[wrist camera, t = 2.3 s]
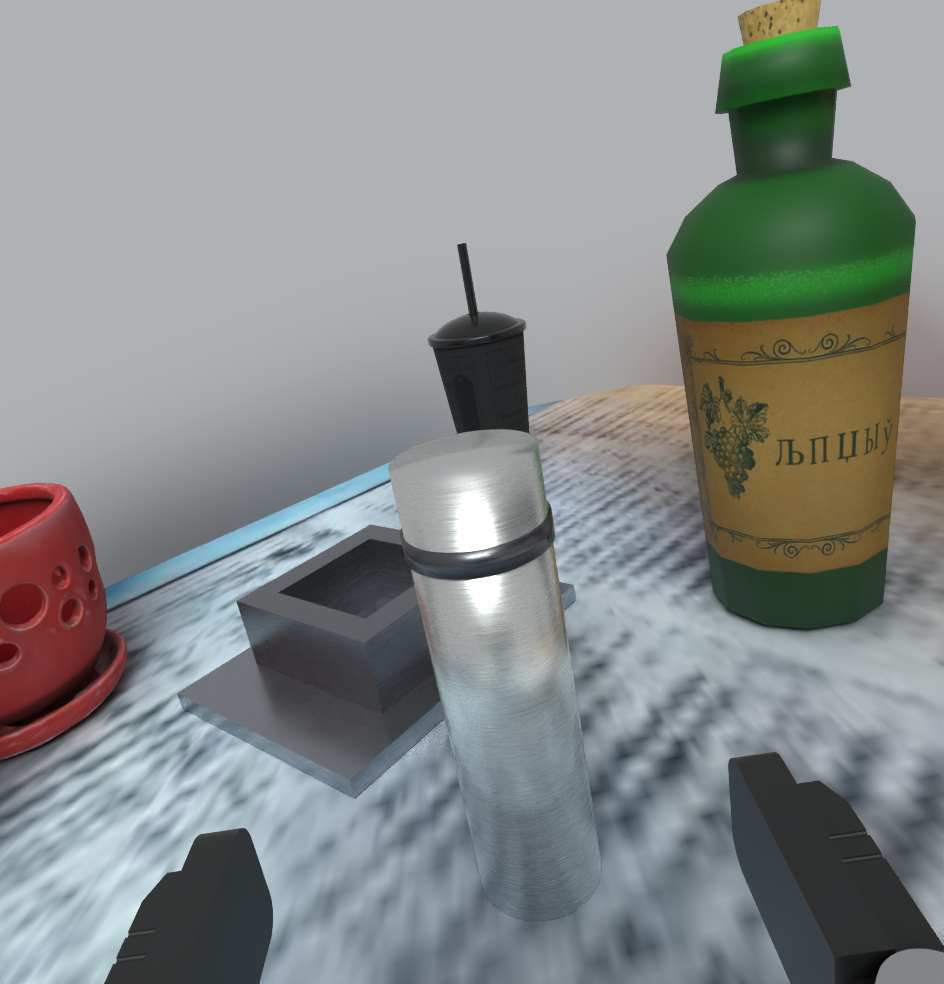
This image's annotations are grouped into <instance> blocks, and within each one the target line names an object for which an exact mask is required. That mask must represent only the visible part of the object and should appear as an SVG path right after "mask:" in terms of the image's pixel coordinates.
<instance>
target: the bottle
mask: <svg viewBox="0 0 944 984" xmlns="http://www.w3.org/2000/svg"><path fill="white" fill-rule="evenodd" d="M820 4H821V0H780V1H776V2H773V3H769V4H766V5H762V6H759V7H757V8H754V9H751V10H748V11H746V12H744V13H742V14H741V15H739V16H738V20H739V25H740V30H741V35H742V40H743V45H744V46H741V47H738V48H735V49H732V50H730V51H729V52H727V53H725V54H723V56H722V64H721V72H720V80H719V88H718V96H717V103H716V111H715V114H724V113H729V121H730V127H731V134H732V142H733V150H734V157H735V163H736V171H737V175H736V176H734V177H733V178H731V179H729V180H727V181H725V182H723V183H721V184H720V185H718V186H717V187H716V188H715V189H714V190H713V191H712V192H711V193H709V194H708V195H707V196H706V197H705V198H704V199H703V200H702V201H701V202H700V203H699V204H698V205H697V206H696V207H695V208H694V209H693V210H692V211H691V212H690V213H689V214H688V215H687V216H686V217H685V219H684V221H683V223H682V225H681V227H680V229H679V231H678V233H677V235H676V237H675V239H674V241H673V243H672V245H671V247H670V249H669V251H668V253H667V263H668V270H669V276H670V284H671V291H672V298H673V306H674V313H675V320H676V327H677V334H678V341H679V349H680V356H681V363H682V370H683V377H684V384H685V392H686V399H687V406H688V413H689V420H690V427H691V435H692V442H693V449H694V456H695V463H696V470H697V477H698V485H699V492H700V499H701V506H702V513H703V520H704V528H705V535H706V542H707V549H708V556H709V563H710V571H711V578H712V585H713V591H714V592H715V593H716V595H717V596H718V597H719V599H720V600H721V601H722V603H723V604H724V605H725V607H726V608H727V609H728V610H729V611H732V612H734V613H737V614H739V615H742V616H744V617H746V618H749V619H751V620H754V621H756V622H759V623H761V624H763V625H771V626H782V627H792V628H803V629H814V628H820V627H826V626H831V625H837V624H842V623H848V622H853V621H857V620H859V619H860V618H862V617H863V616H865V615H866V614H867V613H869V612H870V611H872V610H873V609H875V608H876V607H878V606H879V605H881V604H882V603H883V596H884V584H885V573H886V561H887V550H888V538H889V526H890V515H891V503H892V492H893V480H894V468H895V457H896V445H897V434H898V422H899V411H900V399H901V387H902V375H903V364H904V352H905V341H906V329H907V318H908V306H909V294H910V283H911V272H912V259H913V248H914V237H915V225H916V221H915V215H914V214H913V213H912V211H911V210H910V208H909V207H908V206H907V204H906V203H905V201H904V200H903V199H902V197H901V196H900V195H899V193H898V192H897V190H896V189H895V187H894V186H893V185H892V183H891V182H890V181H888V180H886V179H884V178H882V177H880V176H879V175H877V174H875V173H873V172H871V171H869V170H868V169H866V168H864V167H862V166H860V165H858V164H856V163H855V162H853V161H847V160H841V159H835V158H832V148H833V136H834V122H835V110H836V97H837V90H840V89H844V88H847V87H851V83H850V79H849V74H848V69H847V64H846V59H845V54H844V49H843V44H842V39H841V35H840V30H839V28H838V26H832V27H820V28H817V24H818V18H819V11H820Z"/></svg>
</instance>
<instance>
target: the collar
mask: <svg viewBox="0 0 944 984" xmlns="http://www.w3.org/2000/svg"><path fill="white" fill-rule="evenodd" d="M559 586H560V592H561V599H562V605H563V611H564V610H565V609H566V608H567V607H569V606H570V605H571V604H572V603H573V602H574V601H575V600H576V598H575V591H574V585H571V584H566V583H561V582H559ZM237 604H238V607H239V610H240V613H241V617H242V620H243V623H244V626H245V629H246V632H247V635H248V638H249V642H250V645H251V647H250V648H248V649H247V650H245V651H244V652H242V653H241V654H239V655H237V656H236V657H234V658H233V659H231V660H229V661H228V662H226V663H225V664H223V665H221V666H220V667H218V668H217V669H215V670H214V671H212V672H210V673H209V674H207V675H206V676H204V677H202V678H201V679H199V680H198V681H196V682H194V683H193V684H191V685H190V686H188V687H187V688H185V689H183V690H182V691H180V692H179V693H177V694H178V697H179V700H180V703H181V705H182V708H183V709H184V710H186V711H188V712H190V713H192V714H194V715H196V716H198V717H200V718H202V719H203V720H205V721H207V722H209V723H211V724H213V725H215V726H217V727H219V728H221V729H223V730H225V731H226V732H228V733H230V734H232V735H234V736H236V737H238V738H240V739H242V740H244V741H246V742H248V743H249V744H251V745H253V746H255V747H257V748H259V749H261V750H263V751H265V752H267V753H269V754H270V755H272V756H274V757H276V758H278V759H280V760H282V761H284V762H286V763H288V764H290V765H292V766H293V767H295V768H297V769H299V770H301V771H303V772H305V773H307V774H309V775H311V776H313V777H315V778H316V779H318V780H320V781H322V782H324V783H326V784H328V785H330V786H332V787H334V788H336V789H338V790H339V791H341V792H343V793H345V794H347V795H349V796H351V797H353V798H356V797H357V796H358V795H359V794H360V793H361V792H363V791H364V790H365V789H366V788H367V787H368V786H369V785H370V784H372V783H373V782H374V781H375V780H376V779H377V778H378V777H379V776H380V775H382V774H383V773H384V772H385V771H386V770H387V769H388V768H389V767H390V766H392V765H393V764H394V763H395V762H396V761H397V760H398V759H399V758H400V757H402V756H403V755H404V754H405V753H406V752H407V751H408V750H409V749H410V748H412V747H413V746H414V745H415V744H416V743H417V742H418V741H419V740H420V739H422V738H423V737H424V736H425V735H426V734H427V733H428V732H429V731H431V730H432V729H433V728H434V727H435V726H436V725H437V724H438V723H439V722H441V721H442V720H443V719H444V713H443V709H442V704H441V700H440V695H439V691H438V687H437V682H436V678H435V673H434V669H433V664H432V660H431V656H430V651H429V647H428V642H427V638H426V633H425V629H424V625H423V620H422V616H421V611H420V607H419V602H418V598H417V594H416V589H415V585H414V580H413V576H412V571H411V569H410V568H409V567H408V565H407V563H406V560H405V556H404V551H403V547H402V542H401V538H400V530H397V529H391V528H386V527H380V526H375V525H369V526H367V527H366V528H364V529H362V530H360V531H359V532H357V533H355V534H353V535H352V536H350V537H348V538H346V539H345V540H343V541H341V542H339V543H338V544H336V545H334V546H332V547H331V548H329V549H327V550H325V551H324V552H322V553H320V554H318V555H317V556H315V557H313V558H311V559H310V560H308V561H306V562H304V563H303V564H301V565H299V566H297V567H295V568H294V569H292V570H290V571H288V572H287V573H285V574H283V575H281V576H280V577H278V578H276V579H274V580H273V581H271V582H269V583H267V584H266V585H264V586H262V587H260V588H259V589H257V590H255V591H253V592H252V593H250V594H248V595H246V596H245V597H243V598H241V599H239V600H238V601H237Z"/></svg>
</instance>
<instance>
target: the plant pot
mask: <svg viewBox="0 0 944 984" xmlns="http://www.w3.org/2000/svg"><path fill="white" fill-rule="evenodd" d="M106 620H107V604H106V594H105V589H104V586H103V583H102V580H101V577H100V574H99V571H98V567H97V563H96V557H95V549H94V544H93V541H92V538H91V535H90V532H89V529H88V527H87V524H86V522H85V519H84V517H83V515H82V512H81V510H80V508H79V507H78V504H77V503H76V501H75V499H74V497H73V495H72V494H71V492H70V491H69V490H68V489H67V488H66V487H64V486H62V485H59V484H53V483H33V484H25V485H18V486H12V487H6V488H1V489H0V760H3V759H6V758H9V757H12V756H15V755H18V754H20V753H23V752H25V751H33V750H35V749H38V748H40V747H41V746H42V745H43V744H44V743H46V742H48V741H49V740H51V739H52V738H54V737H56V736H57V735H59V734H61V733H62V732H64V731H66V730H67V729H69V728H70V727H72V726H73V725H75V724H76V723H78V722H79V721H81V720H82V719H84V718H85V717H86V716H88V715H89V714H90V713H91V712H92V711H93V710H95V709H96V708H97V707H98V706H99V705H100V704H101V703H102V702H103V701H104V700H105V699H106V698H107V696H108V695H109V694H110V693H111V692H112V690H113V689H114V688H115V686H116V684H117V683H118V681H119V679H120V677H121V675H122V673H123V671H124V668H125V665H126V660H127V646H126V643H125V640H124V639H123V638H122V637H121V636H120V635H119V634H118V633H116V632H114V631H112V630H109V629H106Z"/></svg>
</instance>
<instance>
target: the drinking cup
mask: <svg viewBox="0 0 944 984" xmlns="http://www.w3.org/2000/svg"><path fill="white" fill-rule="evenodd" d="M457 246H458V253H459V258H460V264H461V270H462V275H463V281H464V287H465V293H466V298H467V304H468V310H469V314H466V315H463V316H461V317H458V318H456V319H454V320H452V321H450V322H448V323H447V324H445V325H444V326H443V327H441V328H440V329H439V330H438V331H437V332H436V333H434V334H432V335H431V336H430V337H429V338H428V343H429V346H431V347H433V350H434V353H435V356H436V360H437V364H438V367H439V371H440V374H441V378H442V381H443V385H444V388H445V392H446V396H447V399H448V402H449V406H450V410H451V413H452V417H453V420H454V424H455V427H456V431H457V434H459V433H464V432H471V431H479V430H494V429H503V430H516V431H522V432H526V433H528V434H529V420H528V404H527V387H526V370H525V354H524V337H523V331H524V330H525V329H526V322H525V320H523V319H518V318H514V317H511V316H509V315H506V314H503V313H497V312H478V311H477V305H476V299H475V293H474V287H473V281H472V275H471V269H470V263H469V257H468V251H467V246H466V243H463V244H458V245H457Z"/></svg>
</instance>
